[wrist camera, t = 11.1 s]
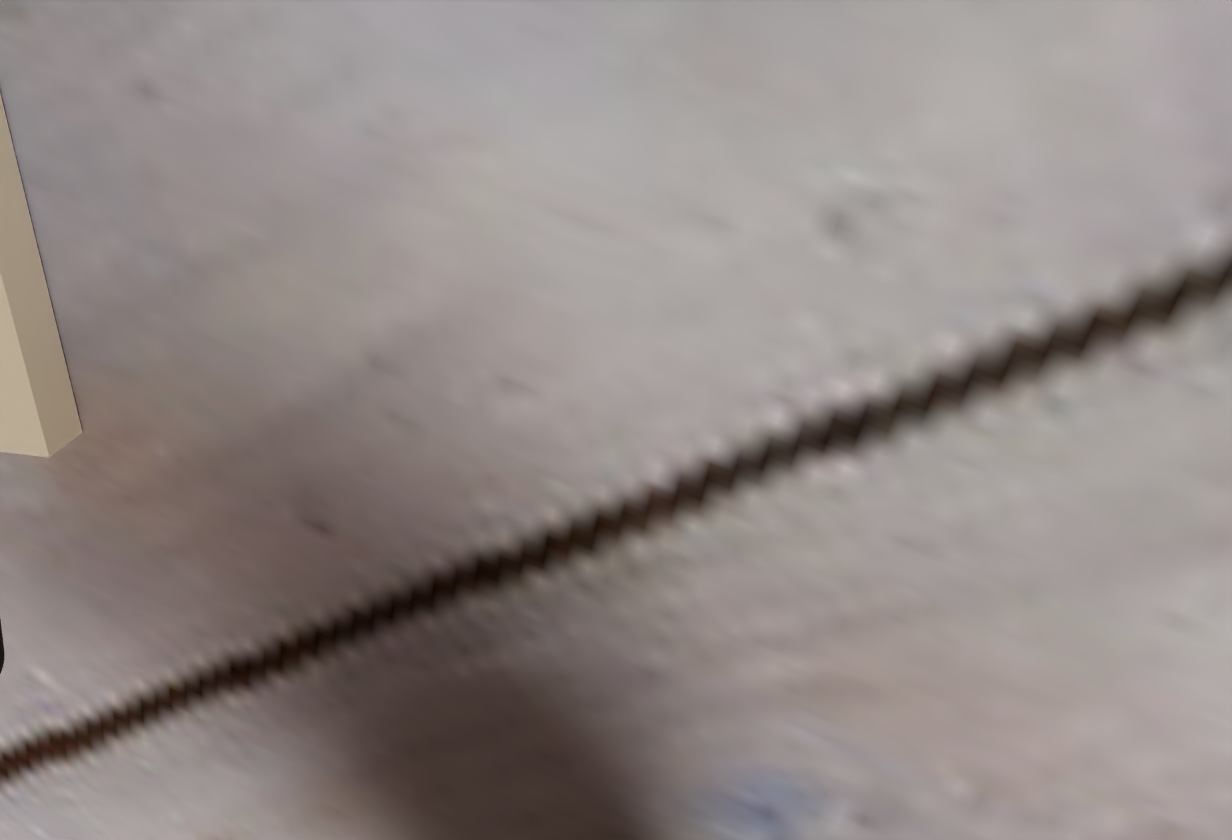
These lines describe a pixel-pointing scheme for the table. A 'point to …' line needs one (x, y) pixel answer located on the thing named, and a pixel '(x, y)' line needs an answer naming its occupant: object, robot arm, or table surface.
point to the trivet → (28, 331)
